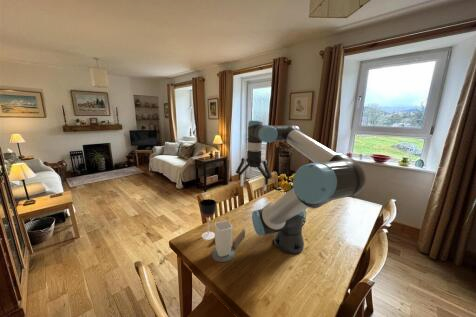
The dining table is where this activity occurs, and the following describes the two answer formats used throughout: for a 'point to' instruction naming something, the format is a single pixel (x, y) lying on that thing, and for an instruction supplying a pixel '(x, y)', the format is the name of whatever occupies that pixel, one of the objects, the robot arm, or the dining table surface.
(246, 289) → the dining table surface
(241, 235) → the rail slot
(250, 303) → the dining table surface
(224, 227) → the cup
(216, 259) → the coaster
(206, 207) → the wineglass
